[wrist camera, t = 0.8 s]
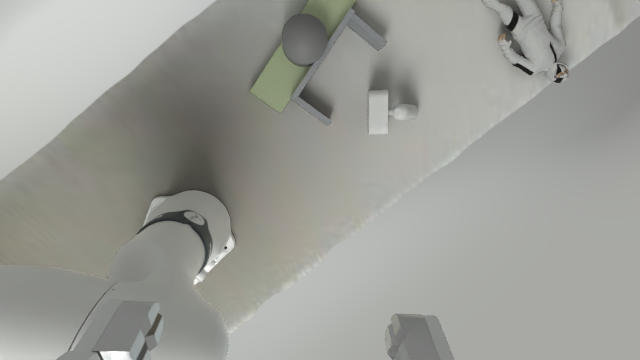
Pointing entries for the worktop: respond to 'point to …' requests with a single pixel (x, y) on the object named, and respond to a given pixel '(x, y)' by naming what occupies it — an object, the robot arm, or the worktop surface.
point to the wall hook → (385, 112)
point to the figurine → (533, 38)
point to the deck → (288, 72)
